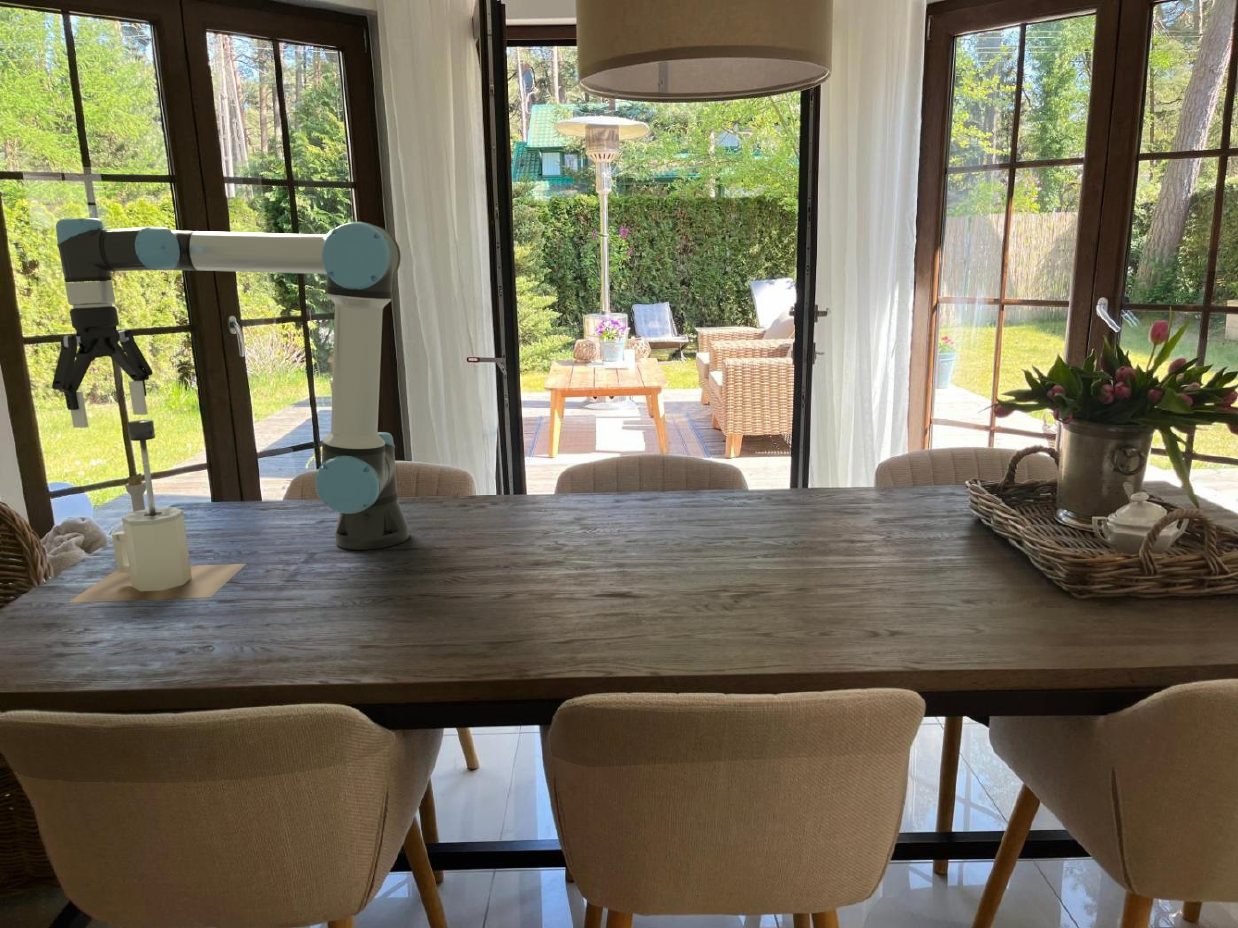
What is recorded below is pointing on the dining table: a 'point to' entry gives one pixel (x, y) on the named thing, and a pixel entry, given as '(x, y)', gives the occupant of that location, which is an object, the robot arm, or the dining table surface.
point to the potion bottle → (136, 491)
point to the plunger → (144, 453)
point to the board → (199, 586)
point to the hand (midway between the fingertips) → (112, 420)
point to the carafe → (153, 549)
